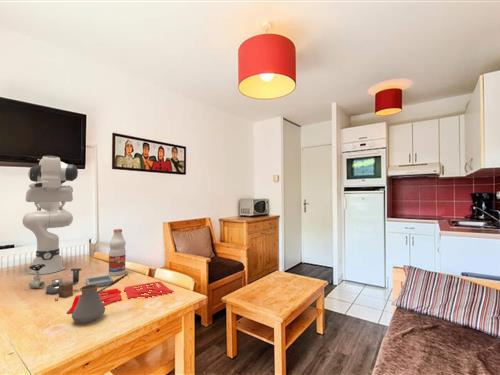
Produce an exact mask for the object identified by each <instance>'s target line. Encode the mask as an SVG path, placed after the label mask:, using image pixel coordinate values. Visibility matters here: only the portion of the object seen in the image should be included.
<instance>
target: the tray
mask: <svg viewBox="0 0 500 375" xmlns="http://www.w3.org/2000/svg"><path fill="white" fill-rule="evenodd" d="M112 277H113V276H111V275H109V274H107V275H102V276H96V277H90V278H89V277H88V278H86V279H85V284H86V285H85V286H87V285H98V286H99V287H98V288H97V289H100V288H104V287H106V286H108V285H109V284H110V283H112V282H113V281H114V278H112Z"/></svg>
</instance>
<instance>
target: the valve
mask: <svg viewBox="0 0 500 375" xmlns="http://www.w3.org/2000/svg"><path fill="white" fill-rule="evenodd" d="M43 266H44V267H45V265H44V264H41V265H39V264H37V265H33V264H32V265H29V267H28V268H29V269H30V270H35V271H36V272H35V274H34V277H33V279H31V280H30V281H29V283H28V287H30V288H32V289H43V288H44V287H45V286H46V282H45V281H43V280H40V279H41V276H40V274H39V272H38V271H39V270H40V269H41V268H43ZM33 268H35V269H33Z"/></svg>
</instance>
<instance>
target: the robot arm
mask: <svg viewBox="0 0 500 375" xmlns="http://www.w3.org/2000/svg"><path fill="white" fill-rule="evenodd" d="M78 174H79V170H78V167H77V166H76V165H75V164H73V163H72V164H71V163H70V164H69V163H65V162H63V161H61V158H60V157H59V156H55V155H43V156H42V158H41V159H40V160H39V163H38V164H36V165H34V166H32V167H30V168H29V170H28V172H27V176H28V178H29V180H30V181H31V182H33V183H30V184H29V185H28V189H27V190H26V194H25V202H26V203H34V204H33V205H34V206H35V207H36V211H33V212H27V213H26V214H24V215H23V217H22V225H23V227H25V228H26V229H27V230H29V231H31V232H32V233H33V234H34V235H35V238H36V249H37V250H36V252H35V256H36V257H35V258H34V259H33V260H32V265H37V264H39V265H41V264H44V265H45V267H44V266H43V268H41V269H40V270H39V271H38V272H39V275H49V274H53V273H57V272H59V271H63V270H66V267H65V265H63V257H62V256H61V255H60V252H61V251H60V247H59V246H60V245H59V244H60V237H59V235H57V234H55V233H53V232H49V230H48V229H54V228H55V229H56V228H57V229H58V228H64V227H68V226H71V224H72V223H73V221H74V217H73V214H72V213H71V212H70V211H68V210H66V209H65V208H64V207H65V204H66V203H67V202H69V203H70V202H71V203H72V201H73V199H74V198H73V197H74V196H73V192H74V188H73V187H72V186H71V185H65V184H64V183H66V182H73V181H74V180H76V179H77V178H78ZM63 184H64V185H63ZM42 210H44V211H42ZM33 269H35V268H33ZM35 272H36V271H35V270H32V269H30V270H29V271H28V273H27V274H29V275H35Z"/></svg>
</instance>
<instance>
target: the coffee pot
mask: <svg viewBox="0 0 500 375" xmlns="http://www.w3.org/2000/svg"><path fill="white" fill-rule="evenodd" d="M126 277H127V278H128V279H129V278H130V275H129V274H128V273H124V274H123V275H121V276H120V277H118V278H117V279H115V280H113V282H112V283H110V284H109V285H108V286H105V287H101V288H100V287H99V286H98V285H84V286H82V287H80V288H79V290H80V291H81V294H80V295H81V297H80V299H79V301H78V303H77V305H76V307H75V309H74V311H73V313H71V318H72V320H73V321H75V323H77V324H79V325H87V324H91V323H94V322H96V321H98V320H99V319H100V318H101V317H102V316H103V315H104V313H105V312H106V306H104V305H103V303H104V302H103V301H101V299H100V297H99V295H98V293H100V292H102V291H105V290H107V289H108V288H109V287H111V286H114V285H115V284H116V283H118V282H120V281H121V280H122V279H124V278H126ZM98 287H99V288H100V289H99V288H98ZM98 289H99V290H98Z"/></svg>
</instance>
